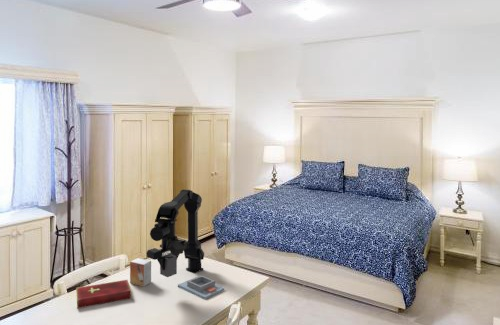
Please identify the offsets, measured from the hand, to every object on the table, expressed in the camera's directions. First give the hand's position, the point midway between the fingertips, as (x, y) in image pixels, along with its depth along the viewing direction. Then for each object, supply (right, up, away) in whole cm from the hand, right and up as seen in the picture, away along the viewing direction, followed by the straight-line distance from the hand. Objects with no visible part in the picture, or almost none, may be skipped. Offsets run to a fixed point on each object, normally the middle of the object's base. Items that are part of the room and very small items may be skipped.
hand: (168, 268), depth 162 cm
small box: (-16, -10, +12) cm, 22 cm away
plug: (0, -3, 0) cm, 2 cm away
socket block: (+13, -11, +8) cm, 19 cm away
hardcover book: (-27, -12, -3) cm, 30 cm away
